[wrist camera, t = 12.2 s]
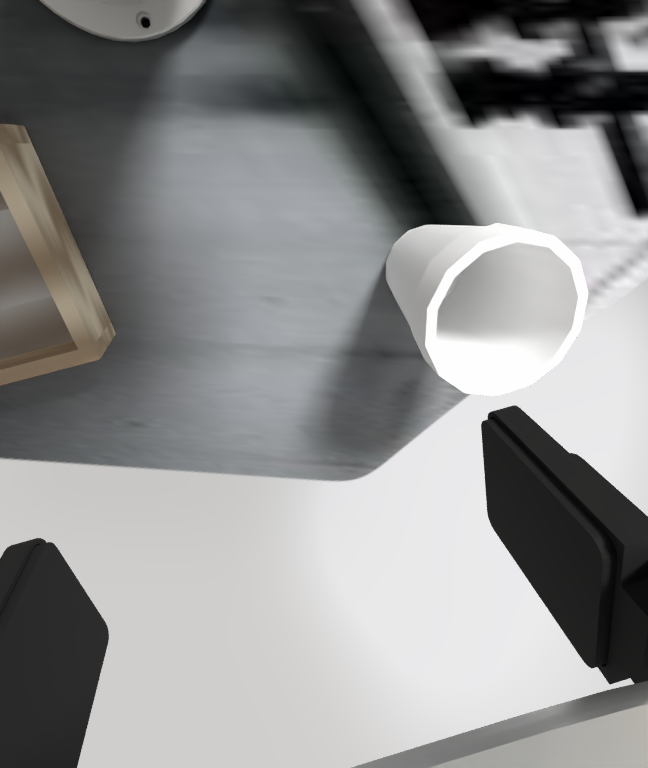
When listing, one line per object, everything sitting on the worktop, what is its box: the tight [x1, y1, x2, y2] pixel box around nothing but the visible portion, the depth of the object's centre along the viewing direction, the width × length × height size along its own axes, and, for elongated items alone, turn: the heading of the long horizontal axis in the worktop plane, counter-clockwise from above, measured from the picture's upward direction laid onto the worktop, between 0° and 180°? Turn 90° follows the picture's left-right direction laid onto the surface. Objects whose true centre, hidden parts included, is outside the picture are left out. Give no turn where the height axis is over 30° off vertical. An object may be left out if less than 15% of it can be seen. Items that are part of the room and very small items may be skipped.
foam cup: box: [386, 223, 589, 396], centre depth 32 cm, size 10×9×13 cm
